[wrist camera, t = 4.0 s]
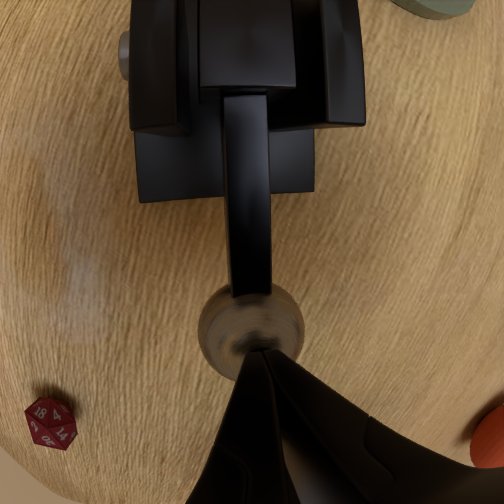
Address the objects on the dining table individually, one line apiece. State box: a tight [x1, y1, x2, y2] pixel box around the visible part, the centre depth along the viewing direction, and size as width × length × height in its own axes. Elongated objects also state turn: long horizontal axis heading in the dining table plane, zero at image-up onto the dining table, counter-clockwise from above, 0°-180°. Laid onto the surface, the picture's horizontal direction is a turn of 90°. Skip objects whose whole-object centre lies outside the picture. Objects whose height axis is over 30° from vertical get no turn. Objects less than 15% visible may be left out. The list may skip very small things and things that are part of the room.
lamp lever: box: [197, 0, 305, 382], centre depth 8 cm, size 11×3×3 cm, turn 2°
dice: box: [24, 397, 78, 451], centre depth 16 cm, size 4×4×4 cm
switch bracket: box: [118, 0, 366, 203], centre depth 9 cm, size 10×8×9 cm
